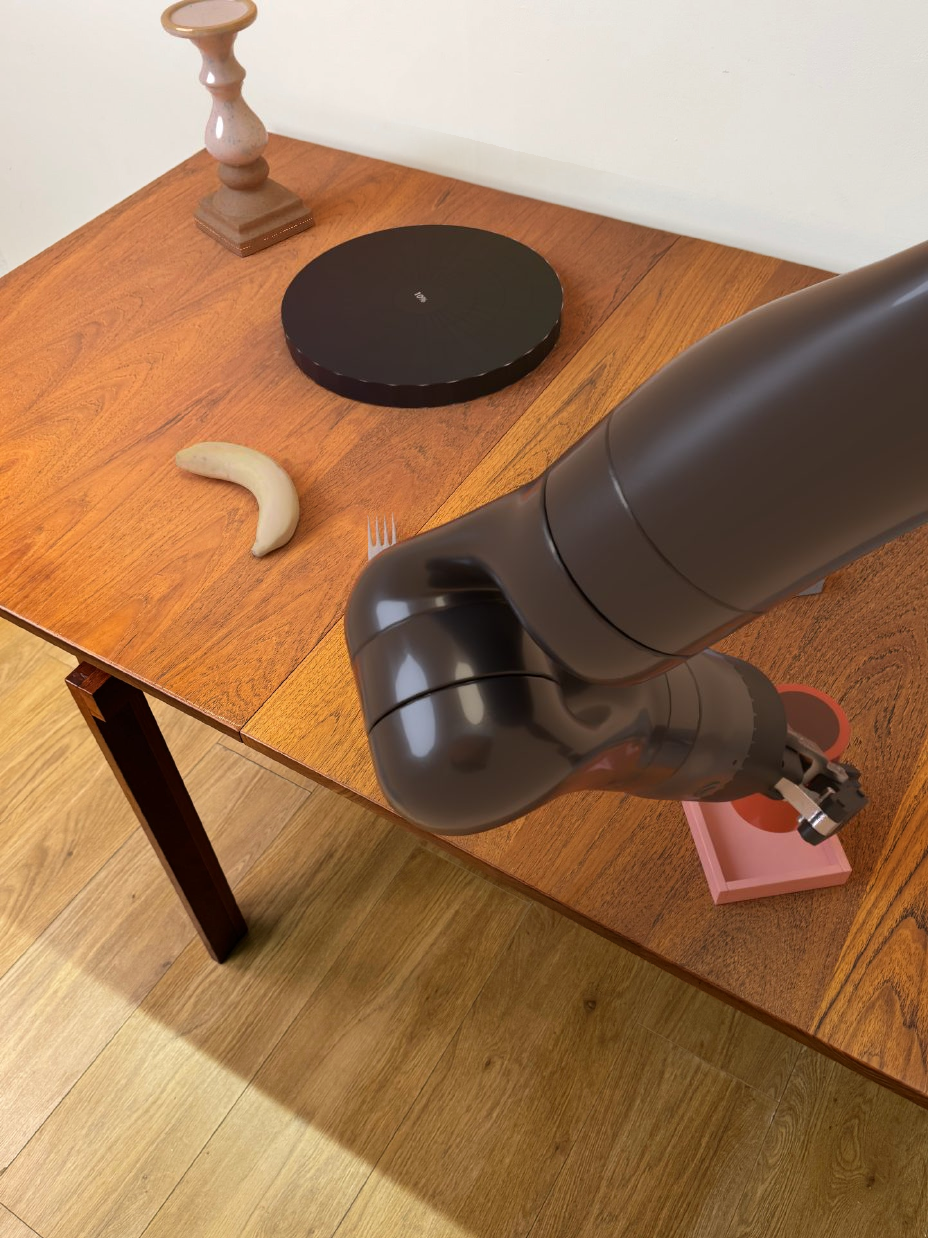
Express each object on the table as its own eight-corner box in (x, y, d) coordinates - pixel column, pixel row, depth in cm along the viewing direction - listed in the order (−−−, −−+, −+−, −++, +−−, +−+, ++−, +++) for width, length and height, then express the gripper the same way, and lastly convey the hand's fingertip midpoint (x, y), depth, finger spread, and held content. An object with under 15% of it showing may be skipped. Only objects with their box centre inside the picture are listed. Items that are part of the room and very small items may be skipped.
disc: (621, 323, 106) (623, 298, 104) (397, 449, 95) (394, 424, 92) (444, 220, 122) (443, 197, 119) (233, 318, 110) (227, 294, 108)
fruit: (243, 441, 96) (235, 413, 94) (327, 524, 89) (321, 496, 86) (177, 474, 94) (167, 447, 91) (258, 563, 86) (249, 536, 83)
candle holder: (242, 258, 118) (190, 39, 100) (194, 225, 124) (136, 12, 105) (317, 224, 122) (280, 8, 104) (267, 193, 128) (224, -17, 110)
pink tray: (797, 770, 70) (803, 755, 69) (844, 884, 65) (852, 870, 63) (677, 789, 70) (680, 774, 68) (714, 905, 64) (719, 892, 63)
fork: (369, 675, 78) (366, 660, 76) (368, 531, 88) (365, 514, 86) (402, 672, 78) (400, 657, 76) (397, 528, 88) (395, 512, 86)
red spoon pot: (798, 750, 65) (828, 676, 59) (831, 826, 61) (866, 756, 55) (715, 762, 65) (736, 689, 59) (743, 840, 61) (769, 771, 55)
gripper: (841, 777, 42) (947, 789, 55) (634, 568, 51) (769, 621, 63) (723, 893, 45) (851, 879, 58) (545, 676, 53) (692, 706, 66)
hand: (807, 744), depth 60 cm, fingers closed on red spoon pot, 5 cm apart
